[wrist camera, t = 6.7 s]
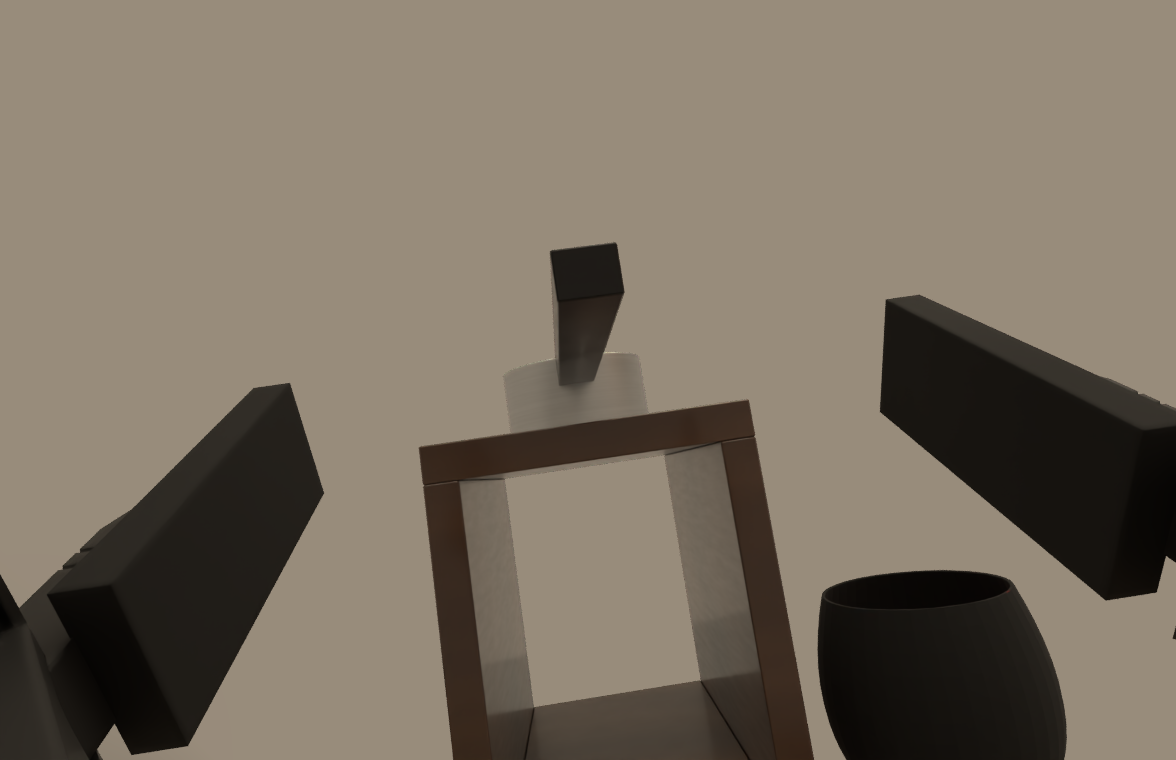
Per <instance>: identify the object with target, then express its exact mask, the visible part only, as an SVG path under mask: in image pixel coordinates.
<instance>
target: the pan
mask: <svg viewBox="0 0 1176 760" xmlns="http://www.w3.org/2000/svg"><path fill="white" fill-rule="evenodd" d="M550 263H551V284H552V305H553V324H554V345H555V358H553V359H548V360H544V361H539V362H535V363H531V364H528V365H524V366H521V367H518V368H515V369H513V370H510V371H509V372H507V373H506V374H504V376H503V378H504V386H505V393H506V401H507V408H508V416H509V424H510V432H511V433H517V432H524V431H531V430H538V429H545V428H552V427H558V426H565V425H572V424H579V423H586V422H593V421H600V420H607V419H614V418H620V417H627V416H634V415H641V414H648V408H647V402H646V395H645V389H644V383H643V377H642V370H641V364H640V358H639V356H638V355H636V354H632V353H625V352H604V350H605V348H606V345H607V341H608V339H609V336H610V333H611V330H612V327H613V324H614V321H615V318H616V316H617V313H618V310H619V306H620V304H621V301H622V298H623V295H624V286H623V279H622V273H621V266H620V260H619V254H618V248H617V244H616V243H615V242H613V243H605V244H597V245H589V246H581V247H574V248H566V249H558V250H552V251H550Z"/></svg>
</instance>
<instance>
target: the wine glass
mask: <svg viewBox="0 0 1176 760" xmlns="http://www.w3.org/2000/svg"><path fill="white" fill-rule="evenodd" d="M818 669H819V677H820V686H821V690H822V696H823V701H824V705H825V709H826V712H827V716H828V719H829V723H830V726H831V728H832V731H833V734H834V736H835V739H836V741H837V743H838V745H839V747H840V749H841V751H842V753H843V754H844V756H845V758H846V760H1064V757H1065V751H1066V740H1067V739H1066V738H1067V736H1066V718H1065V710H1064V704H1063V699H1062V695H1061V690H1060V686H1059V681H1058V678H1057V675H1056V671H1055V668H1054V665H1053V662H1052V659H1051V657H1050V654H1049V652H1048V649H1047V647H1046V645H1045V642H1044V640H1043V637H1042V635H1041V633H1040V631H1039V629H1038V627H1037V625H1036V623H1035V621H1034V619H1033V617H1032V615H1031V613H1030V612H1029V610H1028V608H1027V606H1026V604H1025V603H1024V600H1023V599H1022V597H1021V596H1020V594H1019V592H1018V590H1017V589H1016V587H1015V585H1014V584H1013V583H1012V582H1011V581H1010V580H1008V579H1007V578H1004V577H1001V576H998V575H993V574H988V573H980V572H970V571H951V570H949V571H948V570H936V571H935V570H934V571H912V572H900V573H890V574H882V575H874V576H868V577H862V578H857V579H853V580H849V581H845V582H842V583H839V584H836V585H834V586H832V587H830V588H828V589H826V590H825V591H824V592H823V593H822V599H821V606H820V614H819V627H818Z"/></svg>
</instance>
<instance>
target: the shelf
mask: <svg viewBox="0 0 1176 760" xmlns="http://www.w3.org/2000/svg"><path fill="white" fill-rule="evenodd" d="M754 436H755V432H754V426H753V421H752V415H751V409H750V404H749V400H748V399H744V400H739V401H731V402H724V403H717V404H710V405H703V406H696V407H689V408H682V409H676V410H669V411H662V412H655V413H648V414H641V415H634V416H627V417H620V418H614V419H607V420H600V421H593V422H586V423H579V424H572V425H565V426H558V427H552V428H545V429H538V430H531V431H524V432H517V433H510V434H503V435H497V436H490V437H483V438H476V439H469V440H462V441H455V442H449V443H441V444H434V445H428V446H421V447H419V454H420V463H421V472H422V481H423V484H424V487H423V488H424V498H425V507H426V516H427V525H428V535H429V544H430V552H431V562H432V571H433V579H434V589H435V598H436V607H437V616H438V625H439V633H440V643H441V652H442V661H443V669H444V679H445V688H446V697H447V707H448V715H449V725H450V733H451V742H452V752H453V760H814V757H813V751H812V746H811V740H810V735H809V729H808V724H807V718H806V713H805V707H804V702H803V696H802V691H801V685H800V680H799V674H798V669H797V663H796V658H795V652H794V647H793V641H792V637H791V630H790V625H789V619H788V614H787V608H786V603H785V597H784V592H783V586H782V581H781V575H780V570H779V564H778V559H777V553H776V548H775V543H774V537H773V531H772V526H771V520H770V515H769V509H768V504H767V499H766V493H765V488H764V482H763V476H762V471H761V466H760V460H759V454H758V449H757V443H756V438H755V437H754ZM662 455H665V462H666V469H667V474H668V481H669V487H670V493H671V500H672V505H673V512H674V518H675V524H676V530H677V537H678V542H679V549H680V555H681V561H682V567H683V574H684V580H685V586H686V592H687V598H688V604H689V611H690V617H691V623H692V629H693V635H694V641H695V647H696V654H697V660H698V666H699V672H700V679H701V681H694V682H688V683H682V684H675V685H669V686H663V687H657V688H651V689H644V690H638V691H633V692H626V693H620V694H614V695H607V696H601V697H595V698H589V699H582V700H576V701H570V702H564V703H558V704H551V705H545V706H539V707H535V708H534V705H533V697H532V689H531V681H530V673H529V665H528V657H527V650H526V642H525V635H524V626H523V619H522V611H521V603H520V595H519V587H518V579H517V571H516V564H515V556H514V548H513V540H512V532H511V525H510V517H509V509H508V501H507V493H506V485H505V479H506V478H513V477H519V476H526V475H532V474H540V473H547V472H554V471H560V470H567V469H574V468H581V467H587V466H594V465H601V464H608V463H614V462H621V461H627V460H635V459H641V458H648V457H655V456H662Z"/></svg>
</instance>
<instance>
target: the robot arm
mask: <svg viewBox="0 0 1176 760" xmlns="http://www.w3.org/2000/svg"><path fill="white" fill-rule="evenodd" d="M880 412H881V413H882V414H883V415H884V416H886V417H887V418H888V419H889V420H890V421H892V422H893V423H894V424H895V425H896V426H898V427H899V428H900V429H901V430H902V431H904V432H905V433H906V434H907V435H908V436H910V437H911V438H912V439H913V440H914V441H916V442H917V443H918V444H919V445H920V446H922V447H923V448H924V449H925V450H926V451H927V452H929V453H930V454H931V455H932V456H934V457H935V458H936V459H937V460H938V461H939V462H941V463H942V464H943V465H944V466H946V467H947V468H948V469H949V470H950V471H951V472H953V473H954V474H955V475H956V476H957V477H959V478H960V479H961V480H962V481H963V482H965V483H966V484H967V485H968V486H969V487H971V488H972V489H973V490H974V491H975V492H977V493H978V494H979V495H980V496H981V497H983V498H984V499H985V500H986V501H987V502H989V503H990V504H991V505H992V506H993V507H995V508H996V509H997V510H998V511H999V512H1001V513H1002V514H1003V515H1004V516H1005V517H1006V518H1008V519H1009V520H1010V521H1011V522H1012V523H1014V524H1015V525H1016V526H1017V527H1019V528H1020V529H1021V530H1022V531H1023V532H1024V533H1026V534H1027V535H1028V536H1030V538H1032V539H1033V540H1034V541H1035V542H1037V543H1038V544H1039V545H1040V546H1041V547H1042V548H1044V549H1045V550H1046V551H1047V552H1048V553H1050V554H1051V555H1052V556H1053V557H1054V558H1056V559H1057V560H1058V561H1059V562H1060V563H1062V564H1063V565H1064V566H1065V567H1066V568H1068V569H1069V570H1070V571H1071V572H1072V573H1074V574H1075V575H1076V576H1077V577H1078V578H1080V579H1081V580H1082V581H1083V582H1084V583H1086V584H1087V585H1088V586H1089V587H1090V588H1091V589H1093V590H1094V591H1095V592H1096V593H1097V594H1099V595H1100V596H1101V597H1102V598H1103V599H1105V600H1112V599H1119V598H1125V597H1131V596H1137V595H1144V594H1150V593H1156V592H1157V589H1158V585H1159V581H1160V577H1161V573H1162V569H1163V566H1164V561H1165V558H1166V556H1167V557H1168V558H1170V559H1171V560H1173V561H1174V562H1176V408H1173V407H1171V406H1169V405H1167V404H1162V405H1161V404H1160V401H1158V400H1156V399H1153V398H1151V397H1149V396H1147V395H1145V394H1138V392H1137V391H1135V390H1133V389H1131V388H1129V387H1127V386H1125V385H1122V384H1120V383H1118V382H1116V381H1113V380H1111V379H1108V378H1104V377H1100V376H1097V375H1095V374H1093V373H1091V372H1089V371H1086V370H1084V369H1082V368H1080V367H1078V366H1075V365H1073V364H1071V363H1069V362H1067V361H1064V360H1062V359H1060V358H1058V357H1055V356H1053V355H1051V354H1049V353H1047V352H1044V351H1042V350H1040V349H1038V348H1036V347H1033V346H1031V345H1029V344H1027V343H1024V342H1022V341H1020V340H1018V339H1016V338H1014V337H1011V336H1009V335H1007V334H1005V333H1003V332H1000V331H998V330H996V329H994V328H991V327H989V326H987V325H985V324H983V323H981V322H978V321H976V320H974V319H972V318H970V317H967V316H965V315H963V314H961V313H958V312H956V311H954V310H952V309H950V308H947V307H945V306H943V305H941V304H939V303H936V302H934V301H932V300H930V299H928V298H925V297H923V296H921V295H915V296H907V297H900V298H893V299H887V300H886V306H885V326H884V345H883V363H882V383H881V402H880ZM323 494H324V491H323V488H322V485H321V482H320V479H319V476H318V472H317V469H316V466H315V462H314V459H313V456H312V453H311V450H310V446H309V443H308V440H307V437H306V434H305V431H304V427H303V424H302V421H301V417H300V414H299V411H298V408H297V405H296V401H295V398H294V395H293V392H292V388H291V385H290V383H286V384H279V385H272V386H266V387H258V388H253V389H252V390H251V391H250V392H249V394H247V395H246V396H245V397H244V398H243V399H242V400H241V401H240V402H239V403H238V404H237V405H236V406H235V407H234V408H233V409H232V410H231V411H230V412H229V413H228V414H227V415H226V416H225V417H224V418H223V419H222V420H221V421H220V422H219V423H218V424H217V425H216V426H215V427H214V428H213V429H212V430H211V431H210V432H209V433H208V434H207V435H206V436H205V437H204V438H203V439H202V440H201V441H200V442H199V443H198V444H197V445H196V446H195V447H194V448H193V449H192V450H191V451H190V452H189V453H188V454H187V455H186V456H185V457H184V458H183V459H182V460H181V461H180V462H179V463H178V464H177V465H176V466H175V467H174V468H173V469H172V470H171V471H170V472H169V473H168V474H167V475H166V476H165V477H164V478H163V479H162V480H161V481H160V482H159V483H158V484H157V485H156V486H155V487H154V488H153V489H152V490H151V491H150V492H149V493H148V494H147V495H146V496H145V497H144V498H143V499H142V500H141V501H140V502H139V503H138V504H137V505H136V506H135V507H134V508H133V509H132V510H130V511H128V512H127V513H125V514H124V515H122V516H121V517H119V518H117V519H116V520H114V521H113V522H111V523H110V524H108V525H107V526H105V527H103V528H102V529H100V530H99V531H98V532H97V533H96V534H95V535H94V536H93V537H92V538H91V539H90V540H89V541H88V542H87V543H86V544H85V545H84V546H83V547H82V548H81V549H80V553H76V554H75V555H73V557H71V558H70V559H69V560H68V561H67V562H66V563H65V564H64V565H63V570H58V571H57V572H56V573H55V574H54V575H53V576H52V577H51V578H50V579H49V580H48V581H47V582H46V583H45V584H44V585H43V586H41V587H40V588H39V589H38V590H37V591H36V592H35V593H34V594H33V595H32V596H31V597H30V598H29V599H28V600H27V601H26V602H25V603H24V604H23V605H22V606H21V607H20V608H19V607H18V606H17V604H16V602H15V600H14V599H13V597H12V595H11V593H10V591H9V590H8V588H7V586H6V584H5V582H4V581H3V579H2V577H1V575H0V760H103V759H102V758H101V756H100V754H99V753H98V750H97V748H98V747H99V745H100V744H101V743H102V741H103V740H104V738H105V737H106V735H107V734H108V732H109V731H110V729H111V728H112V726H113V725H114V724H115V725H116V727H117V729H118V731H119V732H120V734H121V736H122V738H123V740H124V742H125V744H126V745H127V747H128V749H129V751H130V753H131V755H134V754H140V753H147V752H153V751H160V750H165V749H171V748H179V747H185V746H188V745H189V743H190V741H191V739H192V737H193V735H194V734H195V732H196V730H197V728H198V726H199V724H200V723H201V721H202V719H203V717H204V715H205V713H206V711H207V710H208V708H209V705H210V704H211V702H212V700H213V698H214V697H215V695H216V693H217V691H218V689H219V687H220V685H221V684H222V682H223V680H224V678H225V676H226V674H227V672H228V671H229V669H230V667H231V665H232V663H233V661H234V659H235V657H236V656H237V654H238V652H239V650H240V648H241V646H242V644H243V643H244V641H245V639H246V637H247V635H248V633H249V631H250V630H251V628H252V626H253V624H254V622H255V620H256V619H257V617H258V615H259V613H260V611H261V609H262V607H263V606H264V604H265V602H266V600H267V598H268V596H269V594H270V592H271V590H272V589H273V587H274V585H275V583H276V581H277V580H278V577H279V576H280V574H281V572H282V570H283V568H284V566H285V565H286V563H287V561H288V559H289V557H290V555H291V553H292V552H293V550H294V548H295V546H296V544H297V542H298V540H299V539H300V537H301V535H302V533H303V531H304V529H305V527H306V526H307V524H308V522H309V520H310V518H311V516H312V514H313V513H314V511H315V509H316V507H317V505H318V503H319V501H320V499H321V498H322V496H323ZM1173 639H1176V628H1175V632H1174V635H1173Z"/></svg>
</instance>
